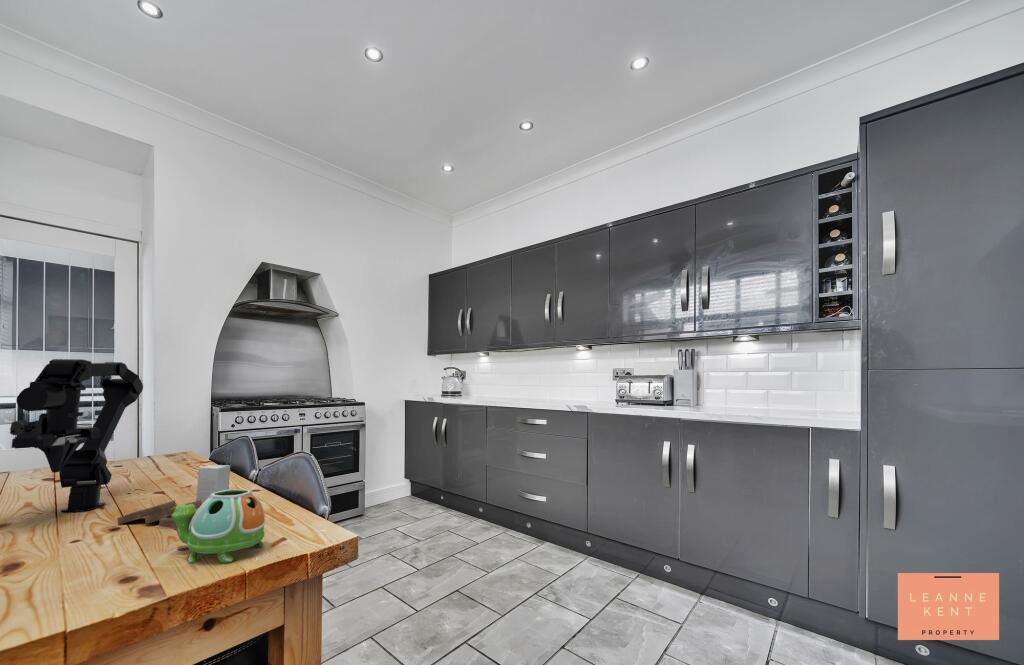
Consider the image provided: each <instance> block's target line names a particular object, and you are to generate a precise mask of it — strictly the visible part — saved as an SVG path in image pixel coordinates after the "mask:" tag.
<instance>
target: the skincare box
mask: <svg viewBox="0 0 1024 665" xmlns="http://www.w3.org/2000/svg"><path fill="white" fill-rule="evenodd" d="M230 474H231V465H229V464H226V465H225V464H224V465H222V464H218V465H217V464H210V465H209V464H208V465H205V466H200V467H198V473H197V475H198V476H197V487H196V488H197V489H196V499H195V500H196V501H200V500H201V503H202V504H203V503H204V502H205V501H206V500H207V499H208V498H209V497H210V495H211V494H212V493H215V492H219V491H223V490H230V476H231V475H230ZM196 501H195V502H196ZM198 509H199V508H196V509H195V512H197V510H198Z"/></svg>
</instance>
